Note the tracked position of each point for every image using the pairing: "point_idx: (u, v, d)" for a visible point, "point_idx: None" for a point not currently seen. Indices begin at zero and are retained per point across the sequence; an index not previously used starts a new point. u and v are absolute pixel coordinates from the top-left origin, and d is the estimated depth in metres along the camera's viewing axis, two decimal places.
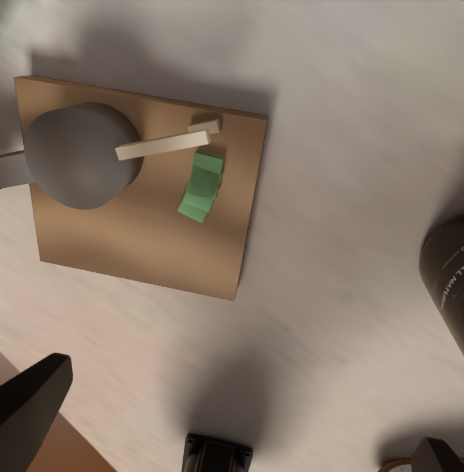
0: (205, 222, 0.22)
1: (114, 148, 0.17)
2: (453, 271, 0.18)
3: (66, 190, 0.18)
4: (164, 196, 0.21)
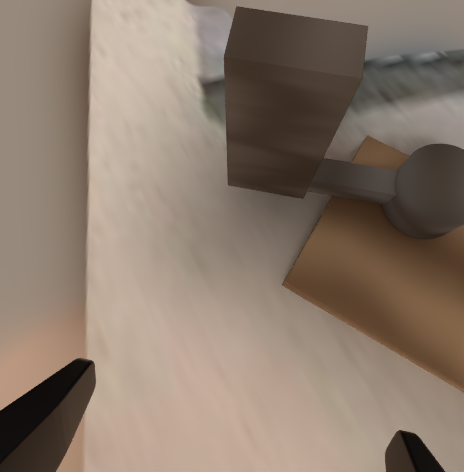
0: None
1: None
2: None
3: (429, 200, 0.20)
4: (459, 262, 0.22)
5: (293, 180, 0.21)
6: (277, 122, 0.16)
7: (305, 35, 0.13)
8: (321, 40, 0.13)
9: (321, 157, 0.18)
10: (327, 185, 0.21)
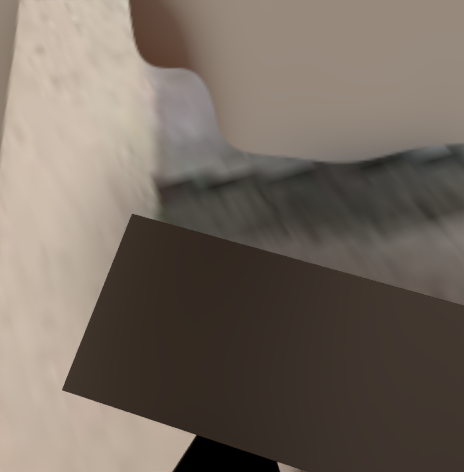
0: None
1: None
2: None
3: None
4: None
5: None
6: None
7: (310, 331, 0.05)
8: (355, 356, 0.04)
9: None
10: None
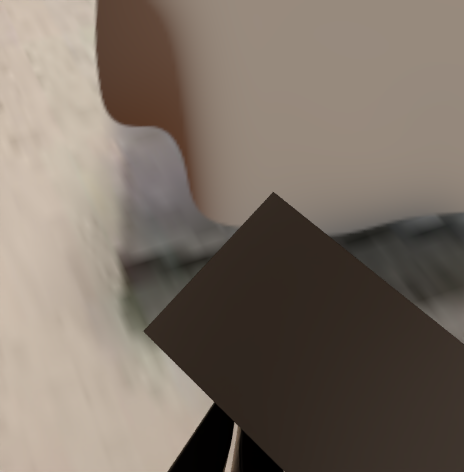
0: None
1: None
2: None
3: None
4: None
5: None
6: None
7: (412, 396, 0.04)
8: (452, 446, 0.04)
9: None
10: None
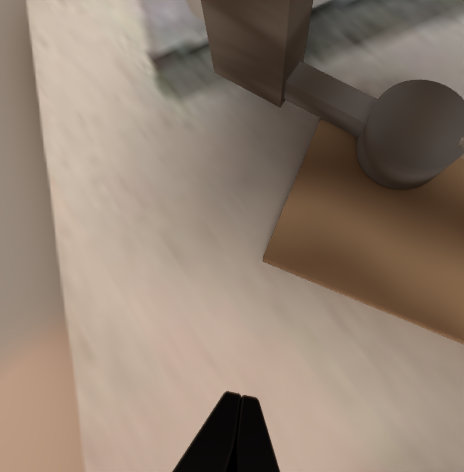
0: None
1: None
2: None
3: (392, 134, 0.18)
4: (450, 208, 0.20)
5: (267, 75, 0.20)
6: None
7: None
8: None
9: (284, 42, 0.17)
10: (302, 94, 0.20)
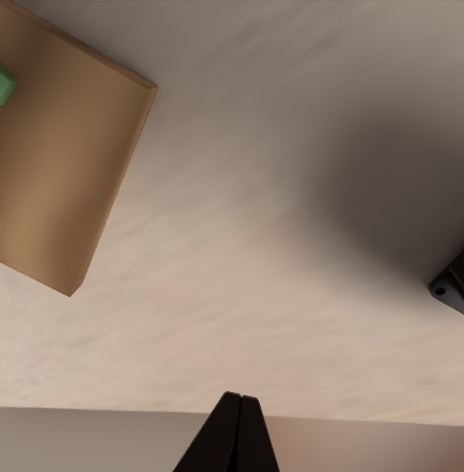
0: (23, 80, 0.17)
1: None
2: None
3: None
4: None
5: None
6: None
7: None
8: None
9: None
10: None
